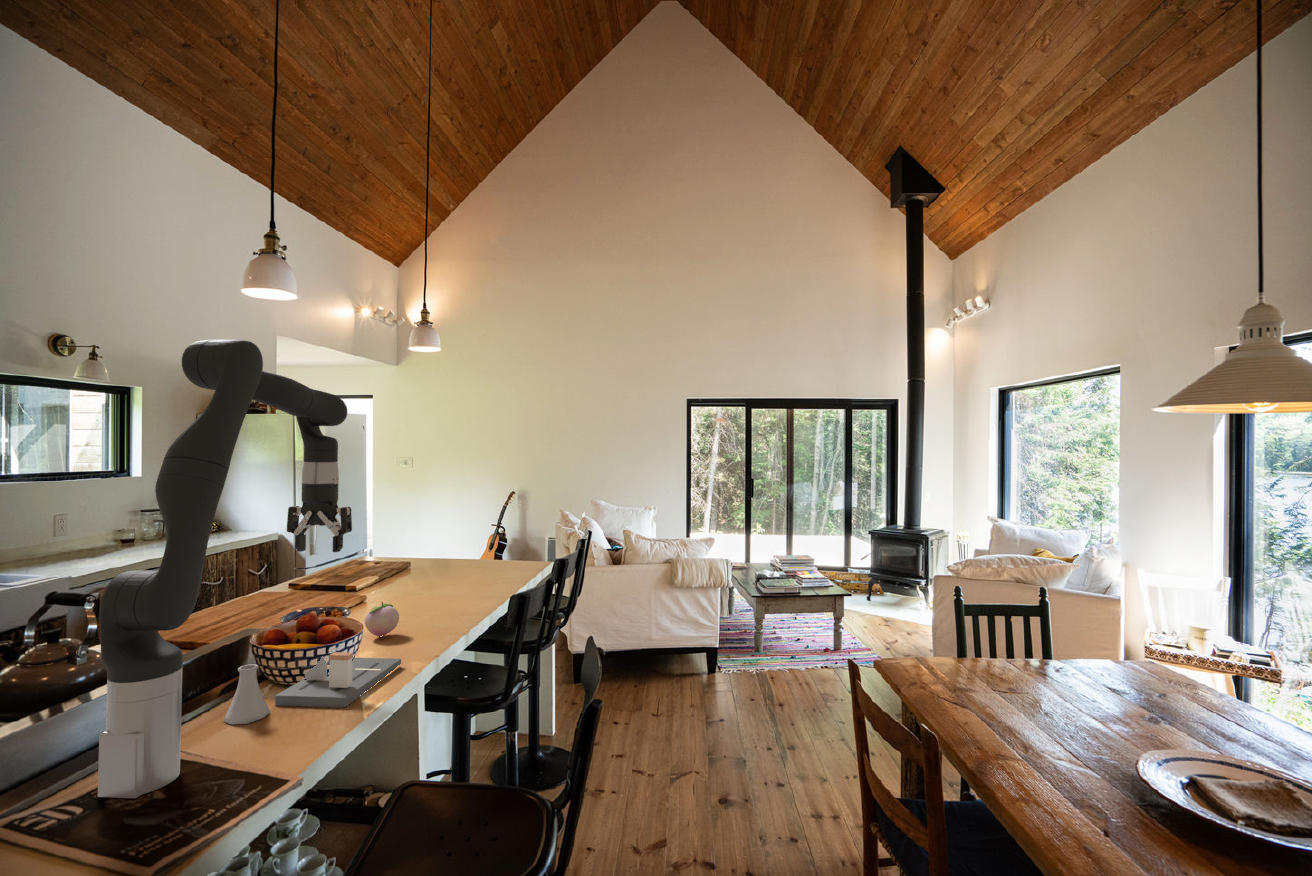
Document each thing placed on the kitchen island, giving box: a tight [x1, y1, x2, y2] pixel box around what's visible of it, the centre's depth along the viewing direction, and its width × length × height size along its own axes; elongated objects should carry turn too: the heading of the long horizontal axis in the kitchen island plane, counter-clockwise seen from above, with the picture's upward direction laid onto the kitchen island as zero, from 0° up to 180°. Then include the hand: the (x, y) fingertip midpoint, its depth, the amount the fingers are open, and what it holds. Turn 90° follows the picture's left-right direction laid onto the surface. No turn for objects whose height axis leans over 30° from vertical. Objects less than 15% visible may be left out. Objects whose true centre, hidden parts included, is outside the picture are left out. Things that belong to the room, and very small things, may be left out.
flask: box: [223, 663, 271, 725], centre depth 121 cm, size 7×7×10 cm
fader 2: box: [328, 651, 354, 688], centre depth 132 cm, size 2×4×7 cm, turn 86°
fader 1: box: [304, 656, 328, 680], centre depth 136 cm, size 2×4×7 cm, turn 87°
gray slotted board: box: [274, 657, 402, 708], centre depth 139 cm, size 24×15×2 cm, turn 176°
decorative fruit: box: [364, 601, 400, 637], centre depth 174 cm, size 9×8×10 cm
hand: (319, 551), depth 143 cm, fingers open, 8 cm apart
